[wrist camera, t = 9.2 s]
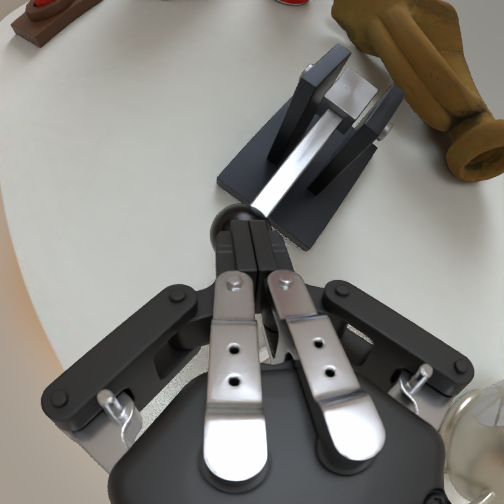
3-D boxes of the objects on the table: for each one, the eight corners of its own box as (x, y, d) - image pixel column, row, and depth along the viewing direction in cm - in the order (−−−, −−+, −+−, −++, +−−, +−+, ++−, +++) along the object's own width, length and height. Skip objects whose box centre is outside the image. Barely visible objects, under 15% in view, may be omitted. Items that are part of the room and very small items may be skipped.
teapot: (492, 341, 26) (606, 347, 10) (502, 422, 26) (591, 447, 9) (374, 439, 23) (491, 522, 7) (400, 511, 22) (480, 582, 6)
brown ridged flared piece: (464, 19, 25) (554, 146, 19) (410, 66, 36) (474, 192, 30) (373, -58, 17) (506, 63, 11) (313, 14, 28) (382, 157, 22)
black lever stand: (305, 251, 25) (378, 215, 13) (216, 183, 25) (221, 98, 13) (371, 153, 27) (444, 87, 16) (296, 96, 27) (337, 7, 15)
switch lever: (246, 275, 18) (246, 281, 15) (202, 241, 18) (192, 239, 14) (369, 113, 18) (388, 92, 15) (330, 84, 18) (342, 58, 15)
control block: (40, 47, 25) (29, 28, 21) (15, 33, 24) (5, 16, 20) (106, -3, 27) (100, -24, 23) (73, -12, 26) (67, -30, 22)
